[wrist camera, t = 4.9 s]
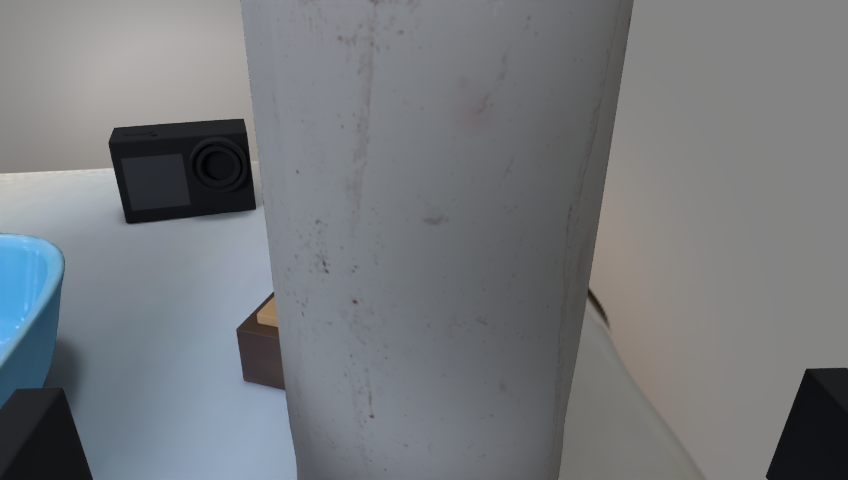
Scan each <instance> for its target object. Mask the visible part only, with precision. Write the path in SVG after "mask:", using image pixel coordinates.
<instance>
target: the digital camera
mask: <svg viewBox="0 0 848 480" xmlns="http://www.w3.org/2000/svg"><path fill="white" fill-rule="evenodd" d="M109 148H110V153H111V158H112V162H113V166H114V171H115V175H116V180H117V184H118V188H119V193H120V197H121V201H122V206H123V210H124V214H125V218H126V222H127V223H135V222H145V221H154V220H163V219H172V218H181V217H190V216H199V215H208V214H217V213H226V212H234V211H243V210H251V209H256V204H255V195H254V187H253V179H252V171H251V162H250V154H249V146H248V138H247V132H246V127H245V123H244V119H230V120H214V121H199V122H185V123H171V124H158V125H144V126H133V127H119V128H114V130H113V132H112V135H111V137H110V140H109Z"/></svg>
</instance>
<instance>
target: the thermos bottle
mask: <svg viewBox="0 0 848 480" xmlns="http://www.w3.org/2000/svg"><path fill="white" fill-rule="evenodd" d="M633 1H634V0H240V2H241V9H242V18H243V27H244V36H245V44H246V53H247V62H248V70H249V79H250V87H251V97H252V105H253V113H254V123H255V131H256V139H257V149H258V157H259V166H260V175H261V183H262V192H263V201H264V209H265V218H266V227H267V235H268V244H269V253H270V261H271V270H272V279H273V287H274V296H275V305H276V313H277V322H278V331H279V339H280V348H281V357H282V365H283V374H284V382H285V391H286V399H287V408H288V415H289V422H290V428H291V434H292V439H293V445H294V450H295V455H296V464H297V480H558V477H559V470H560V463H561V455H562V446H563V433H564V423H565V416H566V410H567V405H568V399H569V394H570V389H571V383H572V378H573V373H574V368H575V363H576V358H577V352H578V347H579V341H580V335H581V329H582V324H583V318H584V311H585V305H586V299H587V293H588V286H589V280H590V274H591V267H592V261H593V255H594V248H595V242H596V236H597V229H598V223H599V217H600V210H601V204H602V198H603V191H604V185H605V179H606V172H607V166H608V160H609V153H610V147H611V140H612V134H613V128H614V122H615V115H616V108H617V102H618V96H619V90H620V84H621V77H622V71H623V65H624V58H625V52H626V46H627V39H628V33H629V27H630V20H631V14H632V8H633Z"/></svg>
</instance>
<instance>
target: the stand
mask: <svg viewBox="0 0 848 480" xmlns="http://www.w3.org/2000/svg"><path fill="white" fill-rule="evenodd" d="M236 331H237V338H238V344H239V351H240V357H241V364H242V370H243V377H244V380H245V381H250V382H254V383H258V384H262V385H267V386H271V387H275V388H280V389H284V390H285V382H284V374H283V365H282V357H281V348H280V339H279V331H278V322H277V313H276V305H275V296H274V292H273V293H272V294H271V295H270V296H269V297H268V298H267V299H266V300H265V301H264V302H263V303H262V304H261V305H260V306H259V307H258V308H257V309H256V310H255V311H254V312H253V313H252V314H251V315H250V316H249V317H248V318H247V319H246V320H245V321H244V322H243V323H242V324H241V325H240V326H239V327H238V328H237V330H236Z"/></svg>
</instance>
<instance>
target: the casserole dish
mask: <svg viewBox="0 0 848 480" xmlns="http://www.w3.org/2000/svg"><path fill="white" fill-rule="evenodd" d="M64 269H65V260H64V256H63V254H62V251H61V250H60V249H59V248H58V247H57V246H56V245H54V244H53V243H51V242H49V241H47V240H45V239H42V238H38V237H34V236H28V235H19V234H8V233H0V409H1V408H2V406H3V405H4V404H5V403H6V401H7V400H8V399H9V398H10V396H11V395H12V394H13V392H14V391H15V390H16V389H27V388H42V387H43V384H44V382H45V379H46V376H47V373H48V371H49V368H50V365H51V361H52V357H53V352H54V347H55V342H56V335H57V327H58V319H59V308H60V297H61V286H62V281H63V275H64Z"/></svg>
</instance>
